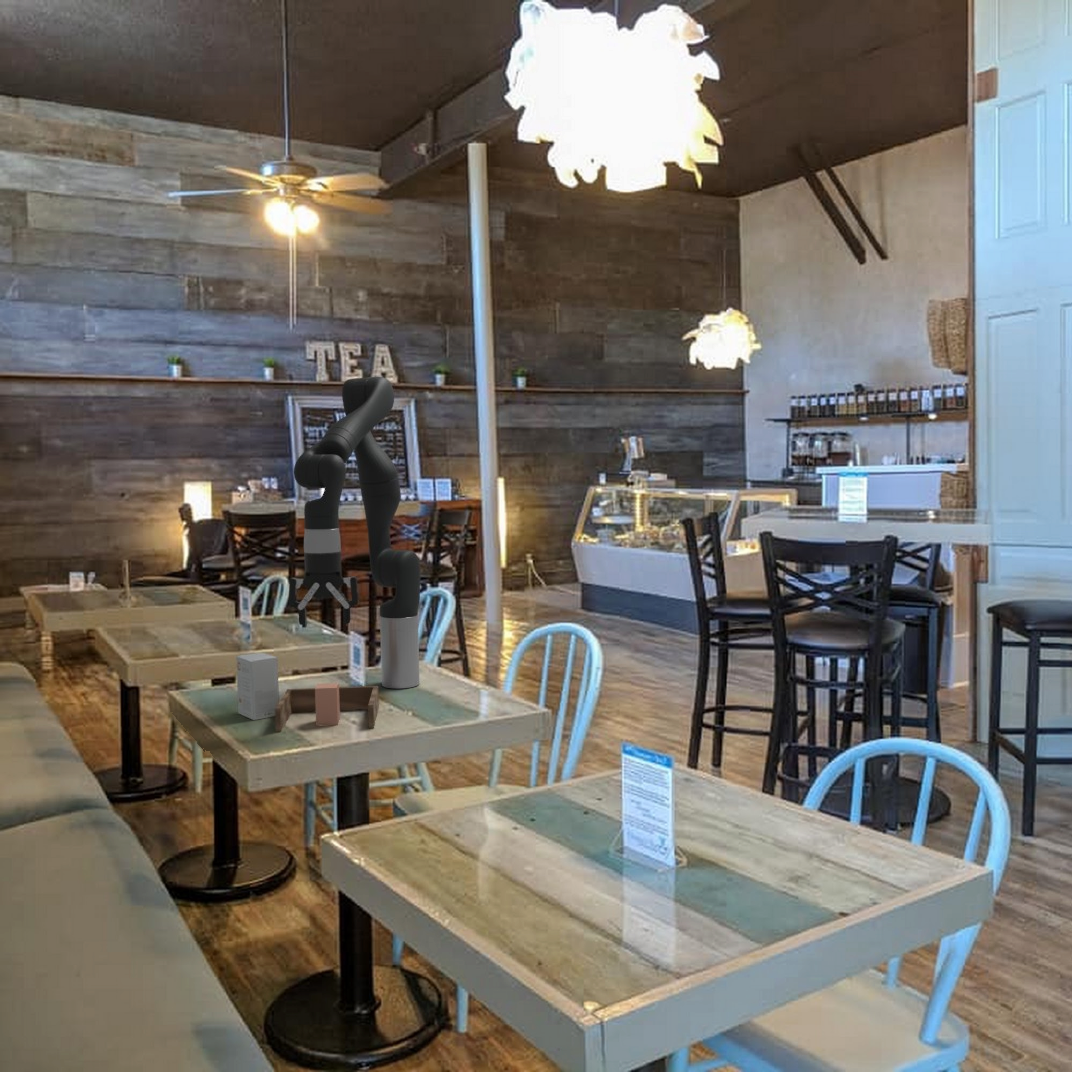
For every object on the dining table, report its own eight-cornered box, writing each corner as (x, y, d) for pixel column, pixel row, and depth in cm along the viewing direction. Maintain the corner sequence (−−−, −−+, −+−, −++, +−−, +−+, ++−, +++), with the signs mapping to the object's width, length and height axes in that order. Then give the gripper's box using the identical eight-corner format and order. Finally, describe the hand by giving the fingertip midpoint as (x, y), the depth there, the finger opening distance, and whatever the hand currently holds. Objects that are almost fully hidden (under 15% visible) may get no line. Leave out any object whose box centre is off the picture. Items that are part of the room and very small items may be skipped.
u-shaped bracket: (288, 711, 230) (287, 689, 230) (378, 707, 232) (378, 685, 232) (275, 732, 213) (275, 708, 213) (373, 728, 215) (373, 704, 215)
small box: (280, 715, 227) (278, 657, 226) (253, 720, 223) (250, 661, 222) (264, 708, 233) (262, 651, 232) (237, 713, 229) (235, 655, 228)
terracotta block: (318, 720, 222) (317, 683, 222) (340, 719, 223) (338, 683, 222) (316, 726, 218) (314, 688, 217) (337, 725, 218) (336, 687, 218)
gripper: (358, 547, 222) (360, 622, 223) (290, 549, 220) (293, 624, 222) (355, 550, 214) (357, 628, 215) (285, 552, 213) (287, 630, 214)
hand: (324, 626), depth 219 cm, fingers open, 8 cm apart
